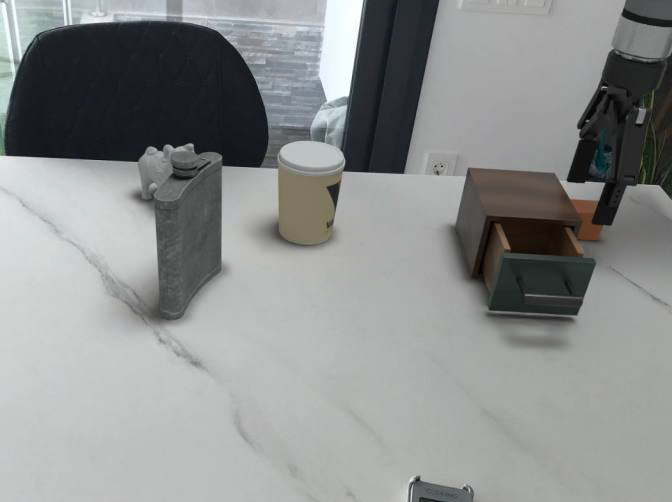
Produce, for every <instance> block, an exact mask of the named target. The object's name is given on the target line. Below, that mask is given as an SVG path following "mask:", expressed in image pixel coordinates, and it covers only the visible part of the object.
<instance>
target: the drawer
mask: <svg viewBox="0 0 672 502" xmlns="http://www.w3.org/2000/svg"><path fill="white" fill-rule="evenodd" d="M596 265H597V261H596V259H595V258H594V257H585V252H584V250H583V248H582V246H581V245H580V243H579V241H578V239H576V237H575V235H574V234H573V232H572V230H571V228H570V226H567V225H550V224H534V223H517V222H501V221H491V223H490V227H489V231H488V235H487V239H486V243H485V247H484V251H483V255H482V259H481V263H480V266H481V269H482V272H483V275H484V278H485V279H484V281H485V283H486V287H487V289H488V292H489V298H488V302H487V305H486V306H487V309H488V311H489V312H490V311H491V312H503V313H504V312H505V313H521V314H522V313H523V314H539V315H555V316H556V315H558V316H573V317H578V316H579V314H580V313H579V312H580V309H581V308H582V306H583V304H584V299H585V296H586V294H587V291H588V288H589V284H590V282H591V280H592V277H593V274H594V272H595V268H596Z"/></svg>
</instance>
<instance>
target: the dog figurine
mask: <svg viewBox="0 0 672 502" xmlns="http://www.w3.org/2000/svg"><path fill="white" fill-rule="evenodd" d="M178 151H190V152H194V153H195V145H194V144H193V143H187V144H185V145H181V146H177V147H176V148H174V147H173V146H172V145H171V144H165V145H164V146H163V149H162V150H158V149H157V148H156V147H154V146H148V147H147V148H146V149H145V152H144V154H142V155H141V157H140V158H139V159H138V161H137V169H138V173H139V176H140V184H141V198H142V199H143V200H145V201H148V200H151V199H152V198H153V196H152V195H151V194H150V191H149V188H150V186H151V185H152V184H155V185H156V186H157V187H158V188H159V186H160V185H161V184H162V183H163V182H164V181H165V180H166V179H167V178H168V177H169V176H170V175H171V174H172V173H173V171H172V164H171V162H170V156H171V154H172V153H175V152H178Z"/></svg>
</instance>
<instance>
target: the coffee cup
mask: <svg viewBox="0 0 672 502" xmlns="http://www.w3.org/2000/svg"><path fill="white" fill-rule="evenodd" d="M276 159H277V180H278V181H277V188H278V189H277V191H278V192H277V193H278V195H277V197H278V199H277V200H278V230H279V231H278V232H279V233H280V235H281V237H282V238H283V239H285V240H286V241H288V242H290V243H292V244H297V245H303V246H315V245H320V244H323V243H325V242H327V241H328V240H329V239H330V238H331V237H332V233H333V228H334V223H335V218H336V213H337V207H338V201H339V195H340V191H341V185H342V178H343V173H344V168H345V165H346V158H345V156H344V153H343V152H342V150H341V149H339V147H336V146H334V145H332V144H329V143H326V142H322V141H315V140H299V141H293V142H289V143H287V144H284V145H283V146H282V147H281V148H280V150H279V152H278V154H277V156H276Z"/></svg>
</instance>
